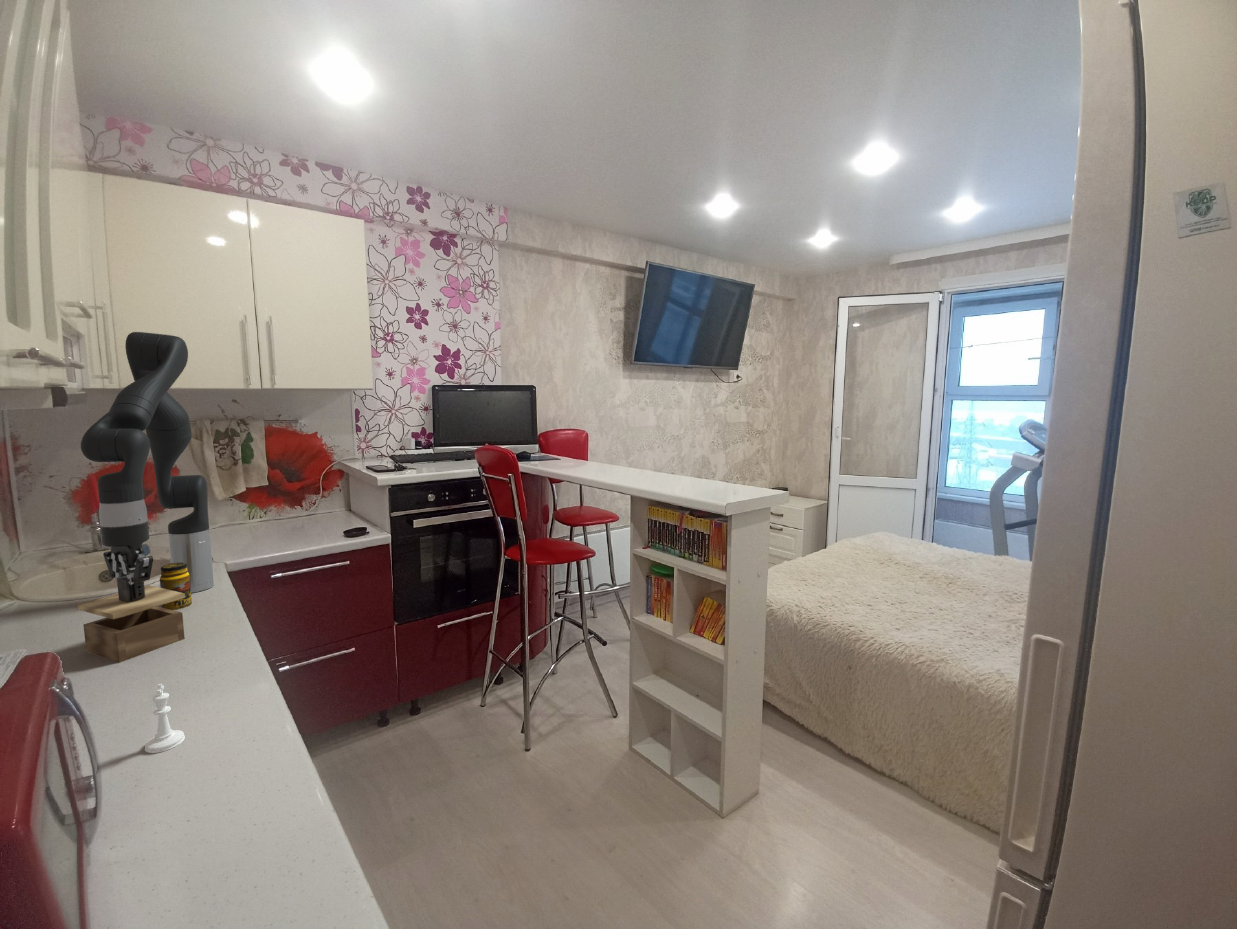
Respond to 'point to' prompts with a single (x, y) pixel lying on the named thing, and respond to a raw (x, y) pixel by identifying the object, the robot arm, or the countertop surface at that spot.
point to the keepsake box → (133, 633)
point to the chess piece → (163, 726)
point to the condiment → (176, 584)
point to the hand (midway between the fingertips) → (132, 598)
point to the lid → (129, 601)
